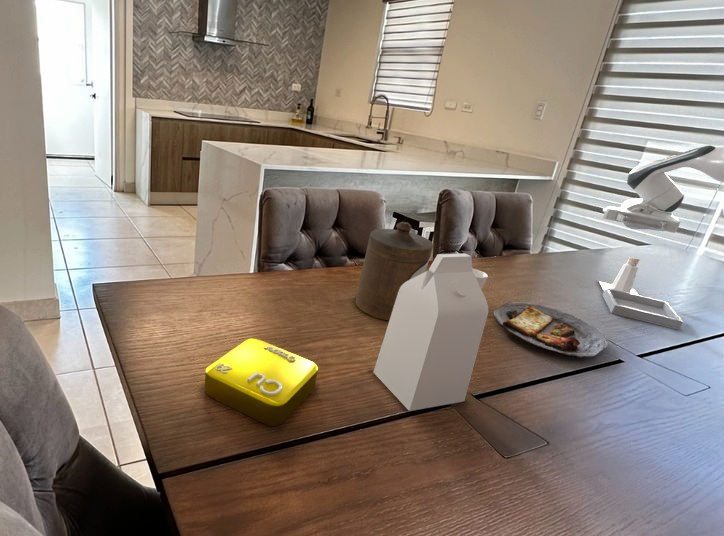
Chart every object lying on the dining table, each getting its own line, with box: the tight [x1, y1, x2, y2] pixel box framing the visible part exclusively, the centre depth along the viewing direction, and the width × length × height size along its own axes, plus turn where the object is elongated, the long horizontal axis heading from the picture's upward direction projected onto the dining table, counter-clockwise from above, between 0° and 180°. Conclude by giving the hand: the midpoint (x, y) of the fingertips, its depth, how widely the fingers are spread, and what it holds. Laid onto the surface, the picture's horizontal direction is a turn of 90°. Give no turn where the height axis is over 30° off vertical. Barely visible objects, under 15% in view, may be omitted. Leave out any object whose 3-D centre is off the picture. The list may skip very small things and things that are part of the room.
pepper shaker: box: [610, 256, 640, 293], centre depth 145 cm, size 5×5×11 cm
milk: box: [372, 252, 489, 412], centre depth 82 cm, size 12×12×26 cm
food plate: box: [492, 301, 610, 359], centre depth 113 cm, size 25×23×4 cm
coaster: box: [598, 281, 639, 295], centre depth 147 cm, size 10×10×1 cm
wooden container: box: [355, 221, 434, 321], centre depth 113 cm, size 15×15×22 cm
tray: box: [602, 288, 684, 331], centre depth 133 cm, size 16×15×3 cm
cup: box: [472, 268, 489, 291], centre depth 127 cm, size 7×10×8 cm
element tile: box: [204, 337, 319, 427], centre depth 80 cm, size 15×15×5 cm
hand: (642, 223), depth 149 cm, fingers open, 8 cm apart
